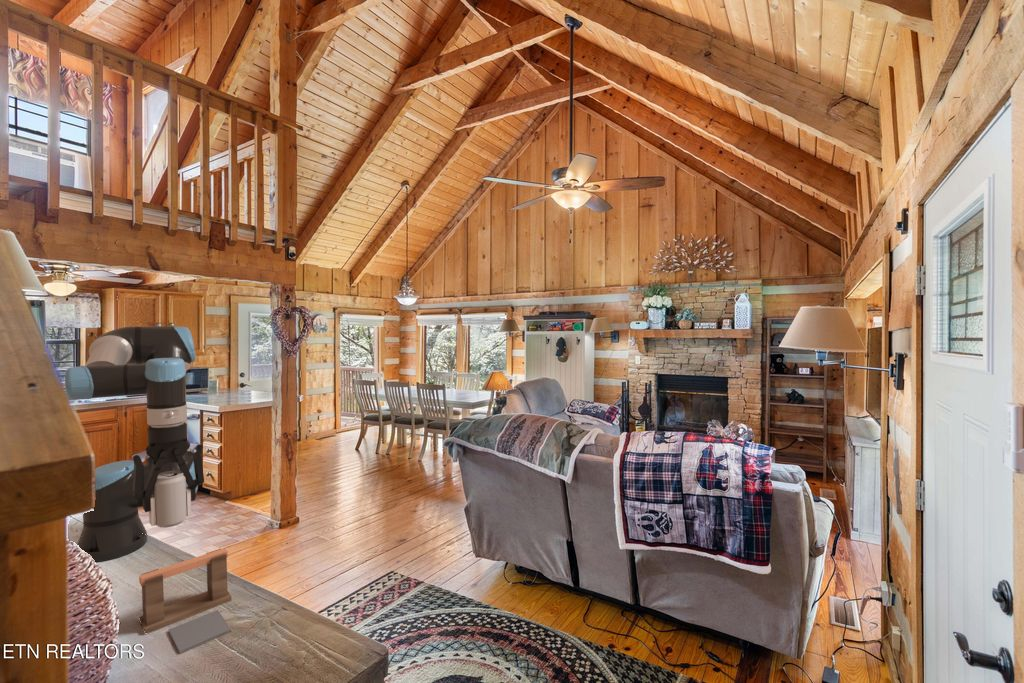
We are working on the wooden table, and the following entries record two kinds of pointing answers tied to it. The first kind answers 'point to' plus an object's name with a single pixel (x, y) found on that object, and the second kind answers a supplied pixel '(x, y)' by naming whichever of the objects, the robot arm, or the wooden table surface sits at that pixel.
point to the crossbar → (182, 566)
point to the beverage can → (170, 498)
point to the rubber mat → (199, 631)
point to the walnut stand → (164, 616)
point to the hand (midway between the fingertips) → (170, 518)
